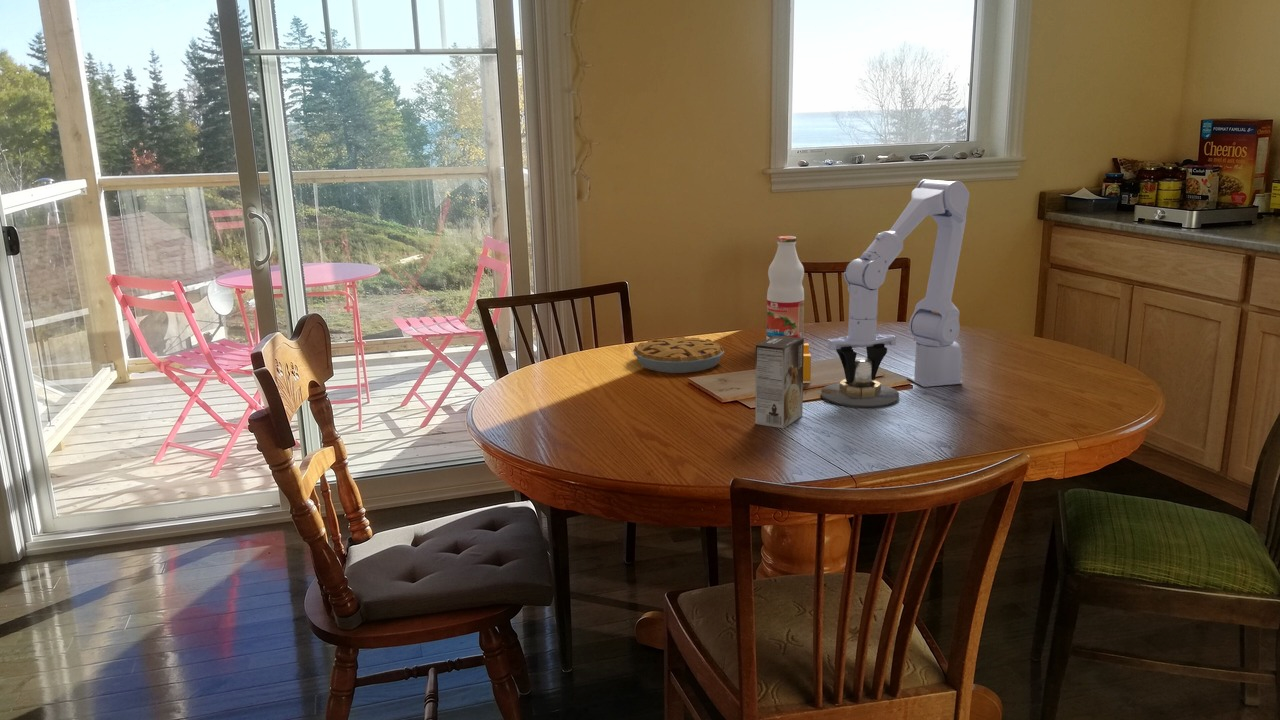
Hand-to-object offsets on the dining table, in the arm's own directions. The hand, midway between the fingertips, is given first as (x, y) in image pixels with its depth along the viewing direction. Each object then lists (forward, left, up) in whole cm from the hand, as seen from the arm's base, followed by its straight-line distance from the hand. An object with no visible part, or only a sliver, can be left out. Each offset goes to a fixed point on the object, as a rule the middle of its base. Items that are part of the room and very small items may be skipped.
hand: (860, 380), depth 202 cm
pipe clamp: (+6, -19, -4) cm, 20 cm away
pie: (+29, -39, -4) cm, 49 cm away
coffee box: (+22, +10, -4) cm, 24 cm away
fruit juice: (-2, -48, -4) cm, 48 cm away
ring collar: (0, 0, -4) cm, 4 cm away
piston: (0, 0, -2) cm, 2 cm away
